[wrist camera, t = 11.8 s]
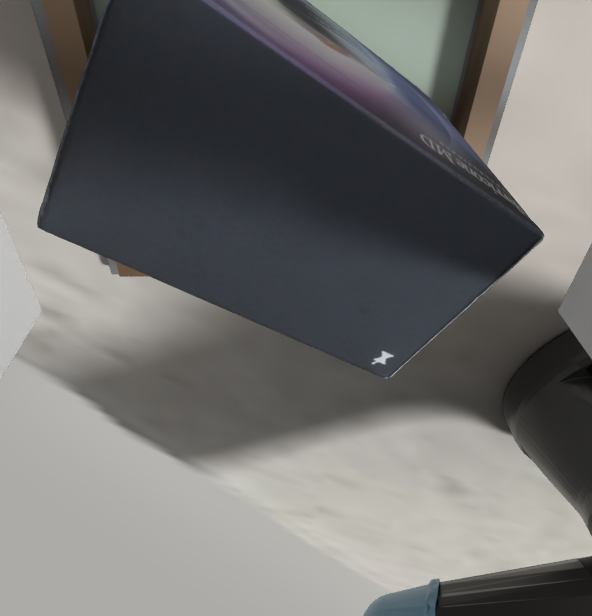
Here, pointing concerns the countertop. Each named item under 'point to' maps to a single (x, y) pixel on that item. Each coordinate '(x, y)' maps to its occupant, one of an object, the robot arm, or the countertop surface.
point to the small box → (280, 177)
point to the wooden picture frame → (374, 35)
